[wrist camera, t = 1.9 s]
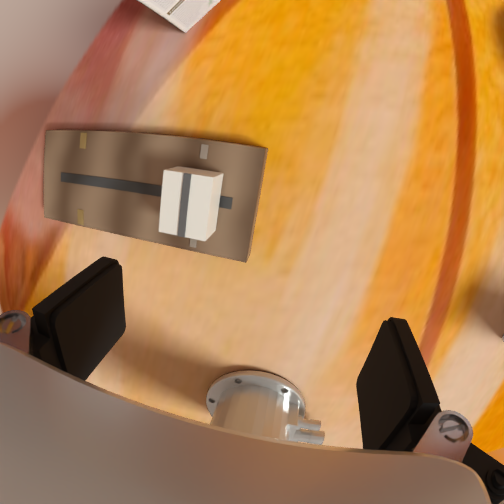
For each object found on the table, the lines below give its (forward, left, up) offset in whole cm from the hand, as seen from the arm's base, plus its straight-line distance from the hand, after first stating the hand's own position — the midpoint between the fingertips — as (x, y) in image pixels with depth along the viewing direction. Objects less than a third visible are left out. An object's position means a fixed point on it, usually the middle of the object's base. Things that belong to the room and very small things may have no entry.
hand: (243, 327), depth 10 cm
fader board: (+14, 0, -19) cm, 24 cm away
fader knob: (+7, 0, -16) cm, 18 cm away
